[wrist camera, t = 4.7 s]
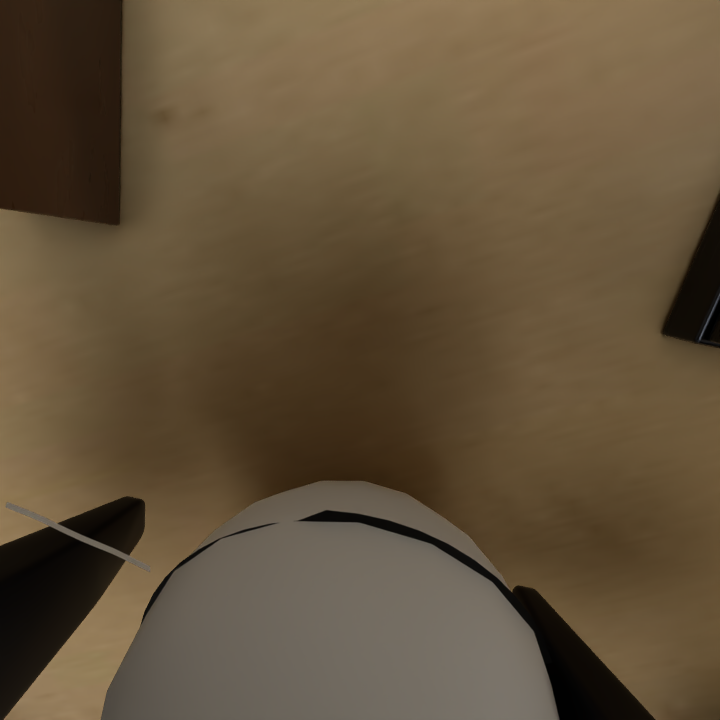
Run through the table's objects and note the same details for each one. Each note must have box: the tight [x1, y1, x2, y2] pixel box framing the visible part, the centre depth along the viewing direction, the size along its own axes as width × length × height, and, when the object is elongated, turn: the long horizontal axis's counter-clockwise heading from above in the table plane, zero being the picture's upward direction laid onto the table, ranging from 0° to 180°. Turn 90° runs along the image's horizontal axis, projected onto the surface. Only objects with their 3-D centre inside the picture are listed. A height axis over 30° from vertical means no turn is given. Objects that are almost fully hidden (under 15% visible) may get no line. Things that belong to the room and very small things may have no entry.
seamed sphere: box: [6, 481, 559, 720], centre depth 6 cm, size 10×7×7 cm
